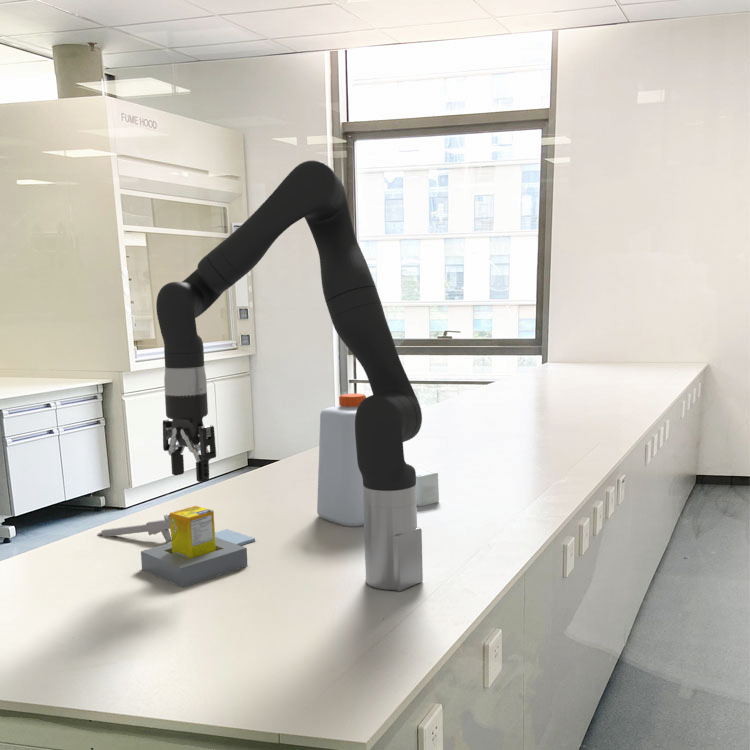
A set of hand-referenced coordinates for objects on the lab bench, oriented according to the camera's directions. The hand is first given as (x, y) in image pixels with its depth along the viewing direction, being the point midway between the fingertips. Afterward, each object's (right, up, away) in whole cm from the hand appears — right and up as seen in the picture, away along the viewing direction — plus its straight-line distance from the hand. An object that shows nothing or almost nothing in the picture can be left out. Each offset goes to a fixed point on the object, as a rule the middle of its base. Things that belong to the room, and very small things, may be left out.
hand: (190, 477), depth 141 cm
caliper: (-16, -16, +21) cm, 31 cm away
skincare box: (+46, -12, +43) cm, 64 cm away
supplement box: (0, -17, +2) cm, 17 cm away
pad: (+2, -16, +16) cm, 23 cm away
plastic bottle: (+30, -13, +32) cm, 46 cm away
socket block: (0, -17, +2) cm, 17 cm away
